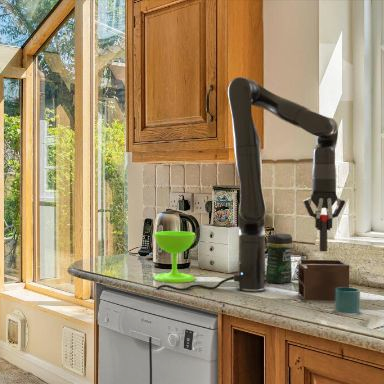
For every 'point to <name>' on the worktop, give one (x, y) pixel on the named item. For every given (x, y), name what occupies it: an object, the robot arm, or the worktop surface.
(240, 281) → the robot arm
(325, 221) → the marker
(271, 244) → the coffee jar
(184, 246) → the wineglass
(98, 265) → the worktop surface
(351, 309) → the pen cup
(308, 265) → the dark wooden crate
